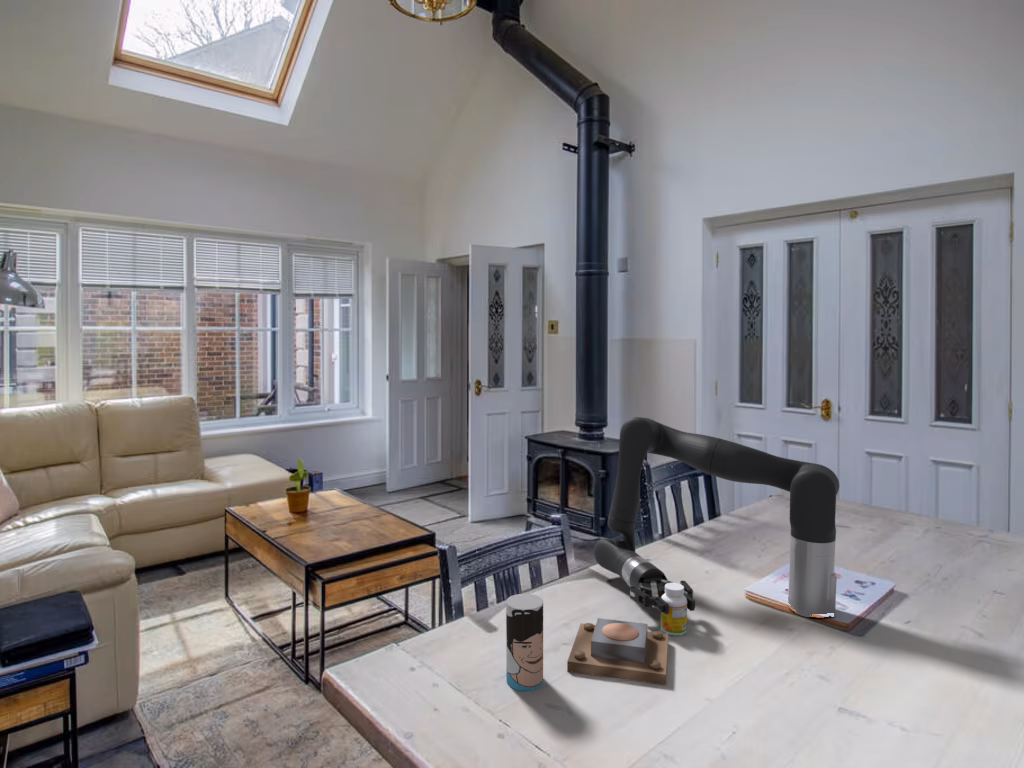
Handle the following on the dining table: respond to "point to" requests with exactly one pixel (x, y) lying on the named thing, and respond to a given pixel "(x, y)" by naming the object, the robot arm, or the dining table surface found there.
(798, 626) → the dining table surface
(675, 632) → the supplement bottle
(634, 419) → the robot arm
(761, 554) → the dining table surface
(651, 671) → the plinth
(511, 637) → the printed can
